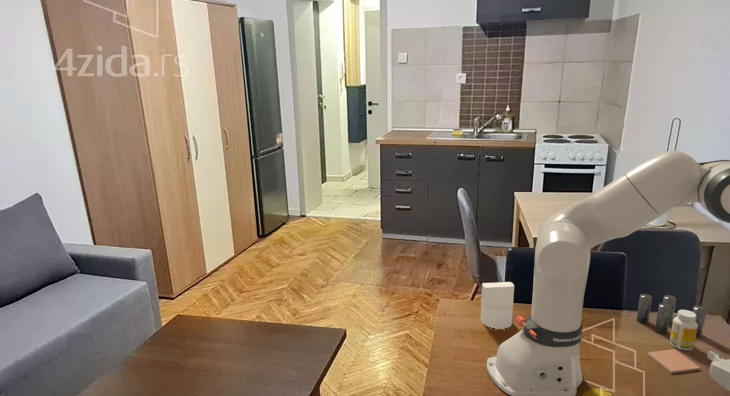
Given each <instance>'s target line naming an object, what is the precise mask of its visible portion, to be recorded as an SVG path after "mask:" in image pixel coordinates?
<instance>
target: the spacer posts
mask: <svg viewBox="0 0 730 396" xmlns="http://www.w3.org/2000/svg"><path fill="white" fill-rule="evenodd" d="M662 299H663V300H662V303H659V304H658V309H657V313H656V315H657V316H656V319H655V321H656V322H655V327H654V332H656V333H657V334H660V335H667V334H668V331H669V326H672V324H673V320H674V314H675V310H676V309H675V308H676V302H677V298H676V297H675V296H673V295H668V294H664V296H663V298H662ZM652 301H653V296H652V295H650V294H647V293H642V294H640V295H639V301H638V307H637V308H638V309H637V314H636V321H637V323H640V324H645V325H646V324H649V323H650V322H649V321H650V314H651V308H652V307H651V306H652ZM691 312H694V313H695V314H696V320H695V321H696V323H697V325H698V327H697V332H696V338H701V337H703V331H704V325H705V322H706V316H707V308H706V307H704V306H700V305H693V306H692V311H691Z"/></svg>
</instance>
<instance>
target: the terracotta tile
mask: <svg viewBox="0 0 730 396" xmlns="http://www.w3.org/2000/svg"><path fill="white" fill-rule="evenodd" d="M646 356H647V357H649V358H650V359H652V361H654V362H655V363H657V364H658V365H659V366H661V367H662V368H663V369H664V370H665V371H667V372H668V373H669V374H678V373H679V374H680V373H685V372H693V371H700V370H701V367H700V366H699V365H697V364H696V363H694V362H693V361H691V360H690V359H689V358H687V357H686V356H685V355H683V354H682V353H680V352H679V351H678V350H676V349H674V348H673V349H665V350H657V351H656V350H655V351H649V352H646Z"/></svg>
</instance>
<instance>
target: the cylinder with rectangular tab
mask: <svg viewBox="0 0 730 396" xmlns="http://www.w3.org/2000/svg"><path fill="white" fill-rule="evenodd" d="M514 293H515V285H514V283H513V282H511V281H502V282H501V281H500V282H482V284H481V305H480V306H481V307H480V322H481V321H482V323H483V324H485V325H486V326H488V327H487V328H489V327H491V328H490V329H492V328H495V329H494V330H497V329H502V330H506V329H505V328H507V329H509V328H510V327H511V326H512V325H513V324H512V323H513V308H514V295H515V294H514ZM482 323H481V324H482ZM483 324H482V325H483ZM485 325H484V326H485ZM486 326H485V327H486ZM508 327H509V328H508Z"/></svg>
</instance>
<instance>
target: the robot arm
mask: <svg viewBox="0 0 730 396" xmlns="http://www.w3.org/2000/svg"><path fill="white" fill-rule="evenodd" d="M690 203H698V204H700V206H701V207H702V208H703V209H704V211H706V212H707V213H709V214H710V215H712V216H713V217H715V218H716V219H718V220H719V221H721V222H725V223H727V224H730V159H718V160H711V161H704V162H703V161H702V162H697V161H696V160H695V159H694V158H693V157H691V156H690V155H689V154H687V153H685V152H682V151H679V150H668V151H665V152H663V153H660V154H657V155H656V156H653V157H651V158H649V159H648V160H645V161H643V162H642V163H639V164H637V165H636V166H634V167H633V168H631V169H630V170H628V171H626V172H625V173H623V174H622V175H620V176H619V177H617V178H616V179H614V180H613V181H611V182H609V183H608V184H606V185H605V186H604V187H602V188H600V189H599V190H598V191H596V192H594V193H592V194H591V195H590V196H588V197H585V198H583V199H581V200H580V201H577V202H575V203H573V204H571V205H569V206H567V207H565V208H564V209H561V210H560V211H557V212H555V213H552V214H551V215H549V216H547V218H546V219H545V220H543V222H542V223H541V225H540V227H539V230H538V233H537V234H538V235H537V238H536V245H535V250H534V251H535V252H534V264H533V265H534V267H533V282H532V283H533V285H532V286H533V287H532V299H531V300H532V301H531V313H530V314H529V315H528V317H527V319H525V318H524V317H523V316H522V315H518V316H517V317H515V319H514V320H515V322H516V324H517V325H518V326H519V327H523V328H522V329H521V330H519V331H518V332H517V333H515V334H514V335H512V336H511V337H509V338H508V339H507V340H505V341H503V342H501V344H499V347H498V349H497V352H496V355H495V356H491V357H488V358H487V360H486V371H487V373H488V375H489V376H490V378H491V380H492V381H493V382H494V384H495V385H496V386H497V387H498V388H499V389H501V390H502V391H503V392H504V393H506V394H507V395H509V396H577V388H578V387H579V386H580V385H581V384H582V382H583V374H582V370H581V369H582V368H581V362H580V342H581V341H582V339H583V338H582V337H583V336H582V335H583V322H582V316H583V308H584V307H583V306H584V297H585V292H586V291H585V290H586V286H587V281H588V276H589V275H588V274H589V270H590V269H589V268H590V262H591V249H593V248H594V247H596V246H598V245H602V244H603V243H605V242H608V241H611V240H614V239H618V238H619V239H620V238H625V237H628V236H630V235H631V234H633V233H634V232H636V231H638V230H640V229H641V228H643V227H645V226H646V225H648V224H650V223H651V222H653V221H655V220H657V219H659V218H660V217H661V216H664V215H665V214H666V213H668V212H669V211H671V210H672V209H674V208H676V207H679V206H681V205H683V204H690ZM706 356H707V358H708V359H709V360H710V361H711V363H710V367H709V376H710V379H712V380H713V381H715V382H716V383H717V384H718V385H719V386H721V387H723V388H724V389H725V390H727V391H729V392H730V358H728V359H724V358H721V354H720V352H718V351H716V350H710V351H707V355H706Z"/></svg>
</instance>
